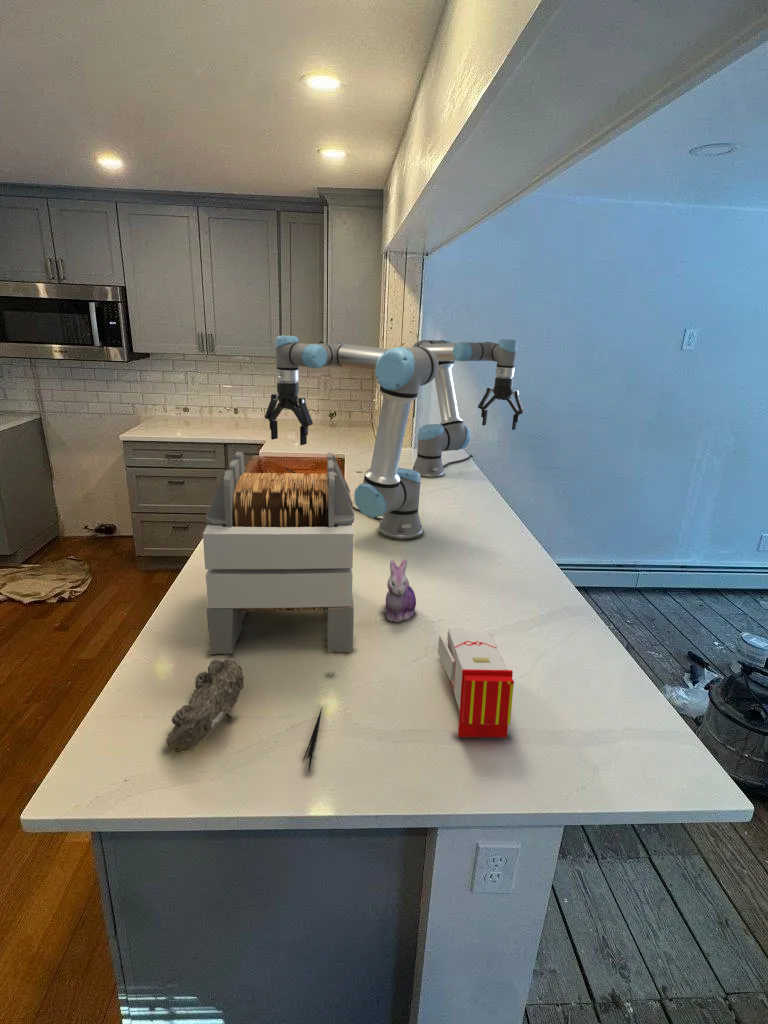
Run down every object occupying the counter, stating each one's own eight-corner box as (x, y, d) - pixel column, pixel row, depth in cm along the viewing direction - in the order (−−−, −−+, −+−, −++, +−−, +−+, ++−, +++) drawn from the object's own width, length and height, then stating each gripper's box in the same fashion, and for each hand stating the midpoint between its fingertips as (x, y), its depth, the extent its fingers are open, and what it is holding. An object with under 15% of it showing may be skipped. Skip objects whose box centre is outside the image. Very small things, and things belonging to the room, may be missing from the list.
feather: (331, 679, 122) (336, 673, 122) (307, 777, 96) (313, 769, 95) (324, 675, 122) (329, 669, 121) (298, 772, 95) (304, 764, 95)
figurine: (392, 627, 141) (395, 572, 136) (374, 608, 149) (376, 556, 144) (425, 619, 145) (429, 566, 140) (405, 601, 154) (408, 550, 149)
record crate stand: (229, 585, 158) (221, 442, 144) (346, 584, 161) (350, 444, 148) (206, 656, 126) (193, 481, 112) (353, 652, 130) (358, 483, 116)
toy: (488, 613, 130) (523, 677, 101) (484, 667, 133) (517, 744, 104) (435, 612, 130) (455, 676, 101) (432, 666, 133) (451, 743, 103)
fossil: (192, 660, 117) (244, 628, 112) (224, 691, 120) (276, 661, 115) (142, 746, 98) (202, 712, 93) (182, 779, 101) (242, 748, 96)
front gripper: (253, 379, 201) (255, 438, 208) (309, 386, 189) (309, 448, 196) (268, 377, 207) (269, 435, 214) (322, 384, 195) (322, 445, 202)
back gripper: (473, 375, 242) (468, 424, 250) (530, 381, 230) (523, 432, 238) (480, 374, 248) (475, 422, 256) (535, 379, 236) (529, 430, 244)
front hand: (288, 441), depth 205 cm, fingers open, 13 cm apart
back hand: (498, 427), depth 247 cm, fingers open, 13 cm apart
